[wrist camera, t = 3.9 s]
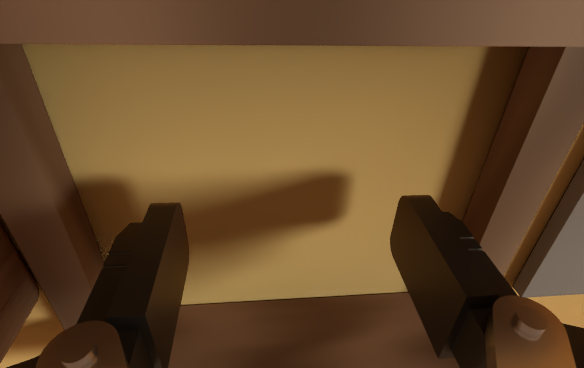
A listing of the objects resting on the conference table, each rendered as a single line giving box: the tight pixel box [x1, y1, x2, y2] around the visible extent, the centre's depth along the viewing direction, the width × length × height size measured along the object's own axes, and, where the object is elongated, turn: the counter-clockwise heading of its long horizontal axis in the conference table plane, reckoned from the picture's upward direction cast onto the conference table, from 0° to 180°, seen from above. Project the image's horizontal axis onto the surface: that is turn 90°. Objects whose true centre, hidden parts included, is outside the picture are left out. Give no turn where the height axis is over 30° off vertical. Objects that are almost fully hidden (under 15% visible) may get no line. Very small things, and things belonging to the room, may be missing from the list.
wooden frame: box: [0, 0, 584, 368], centre depth 10 cm, size 16×14×4 cm
